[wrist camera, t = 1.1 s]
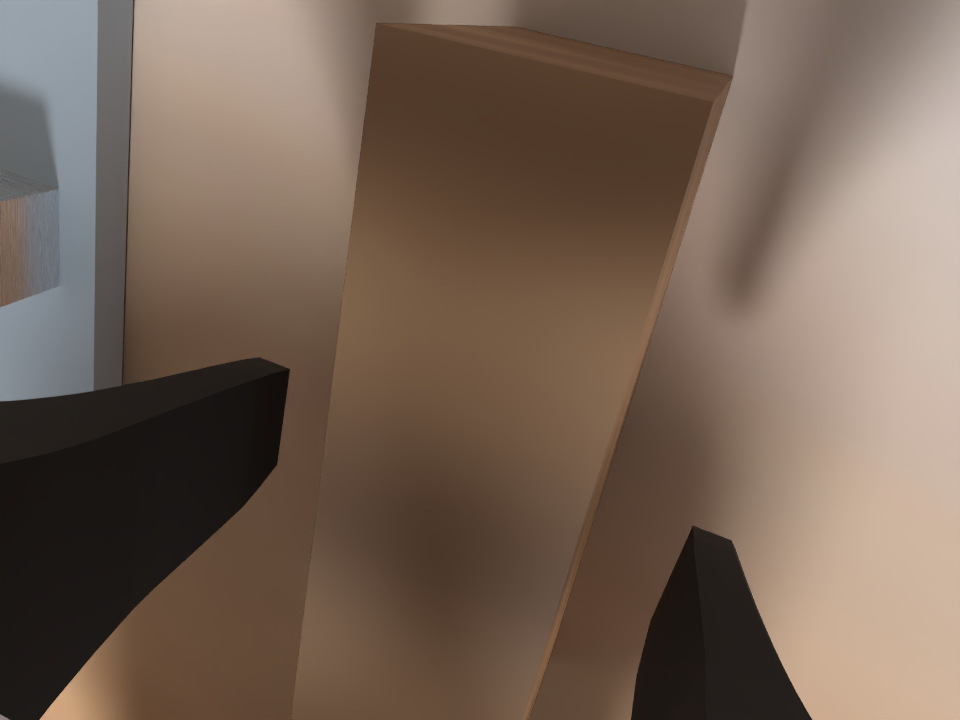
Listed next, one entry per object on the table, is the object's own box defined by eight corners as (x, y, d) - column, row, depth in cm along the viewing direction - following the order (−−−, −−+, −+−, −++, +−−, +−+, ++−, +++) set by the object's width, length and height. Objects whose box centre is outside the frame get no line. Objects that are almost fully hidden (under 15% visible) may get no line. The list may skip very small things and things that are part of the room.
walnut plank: (550, 656, 20) (472, 881, 14) (405, 597, 21) (282, 790, 15) (733, 76, 14) (712, 102, 8) (517, 26, 15) (376, 23, 9)
